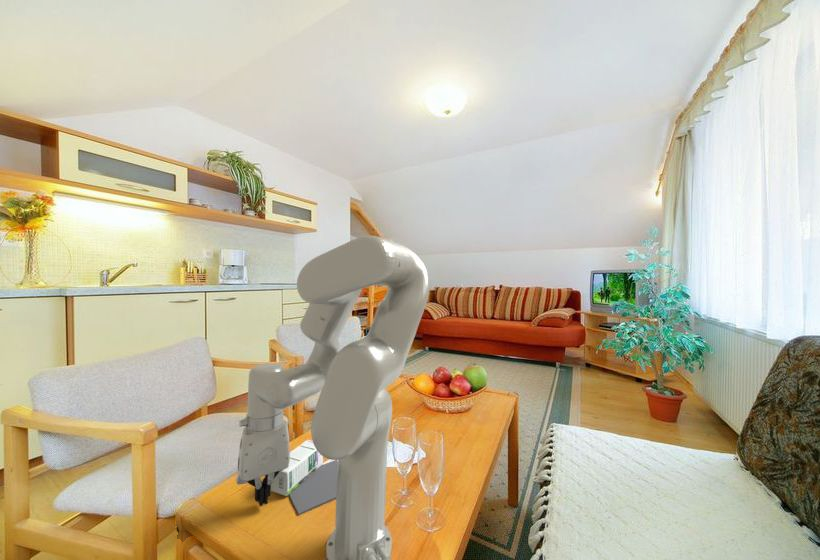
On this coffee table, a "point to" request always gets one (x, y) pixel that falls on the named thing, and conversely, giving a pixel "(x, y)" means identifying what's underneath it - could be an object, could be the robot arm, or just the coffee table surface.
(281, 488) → the syrup box
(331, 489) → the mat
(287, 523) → the coffee table surface
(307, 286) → the robot arm
